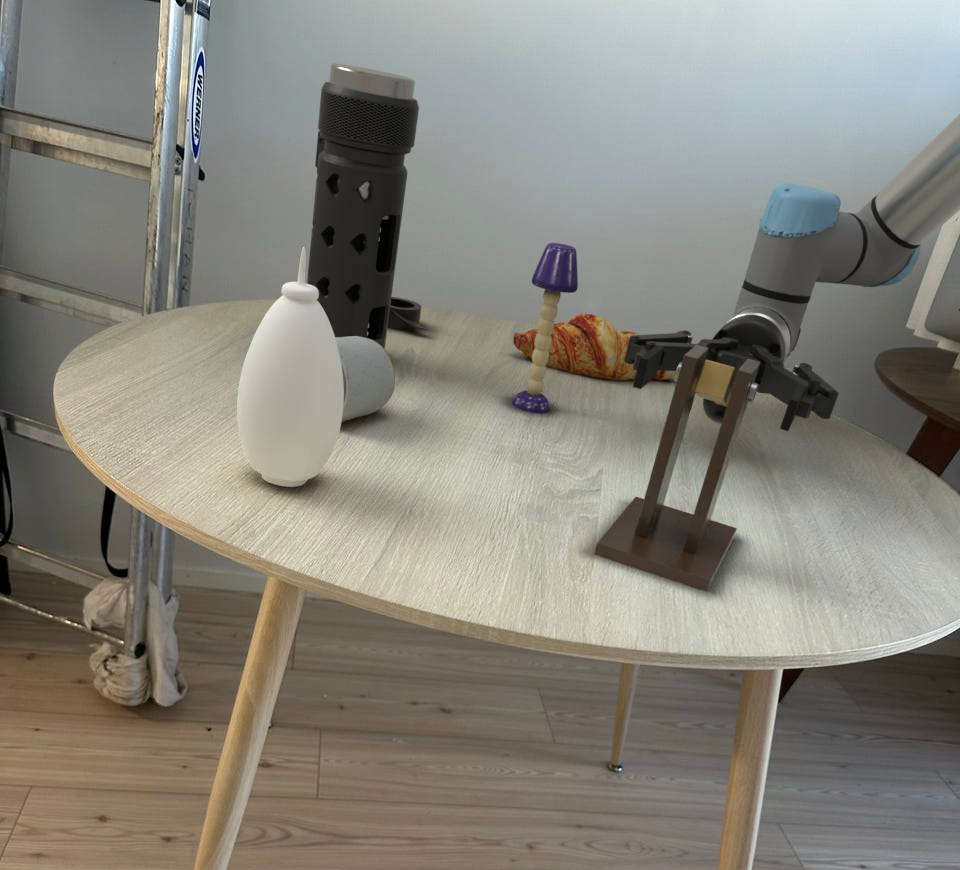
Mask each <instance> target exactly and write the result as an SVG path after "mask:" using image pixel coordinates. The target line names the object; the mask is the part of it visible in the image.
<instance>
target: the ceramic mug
mask: <svg viewBox="0 0 960 870" xmlns="http://www.w3.org/2000/svg"><path fill="white" fill-rule="evenodd" d="M335 339H336V342H337V346H338V350H339V355H340V360H341V366H342V373H343V385H344V402H343V414H342V421H341V423H344V422H347V421H350V420H353V419H356V418H360V417H365V416H368V415H371V414H374V413H375V412H377V411H379V410H381V409H382V408H383V407H385V405H387V403H388V402H389V401H390V399H391V397H392V396H393V393H394V390H395V385H396V371H395V365H394V362H393V360H392V358H391V357H390V354H389V352H388V351H387V350H386V348H385V349H384V348H383V347H382V346H381V345H380V344H378V343H377V342H375V341H374V340H371V339H368V338H364V337H359V336H348V337H335Z"/></svg>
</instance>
